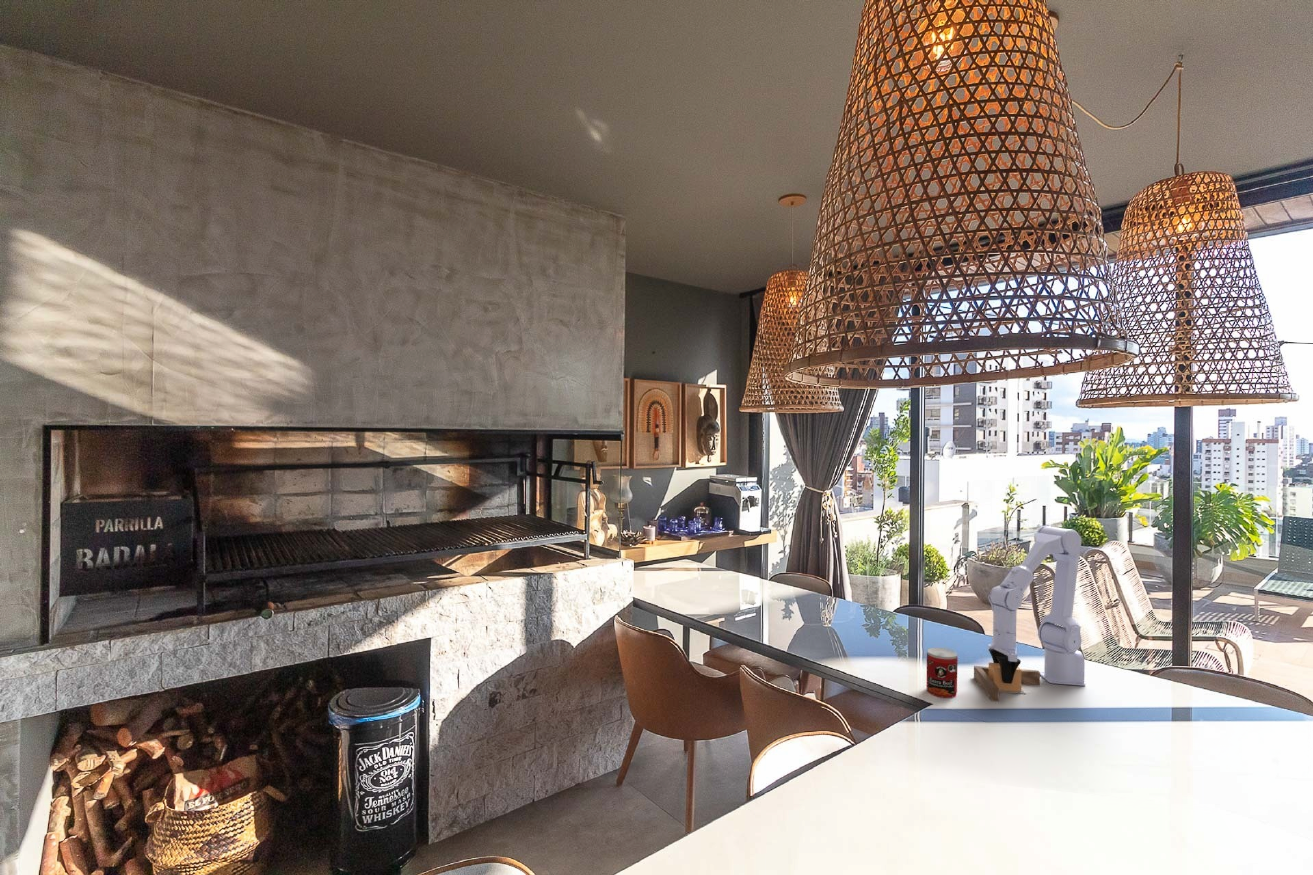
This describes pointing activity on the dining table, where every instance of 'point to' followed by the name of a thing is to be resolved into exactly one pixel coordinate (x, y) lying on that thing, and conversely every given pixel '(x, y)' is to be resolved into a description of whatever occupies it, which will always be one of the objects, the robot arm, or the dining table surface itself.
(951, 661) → the canned food
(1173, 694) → the dining table surface
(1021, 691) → the pad
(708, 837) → the dining table surface
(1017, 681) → the block
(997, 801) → the dining table surface
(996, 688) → the arena
